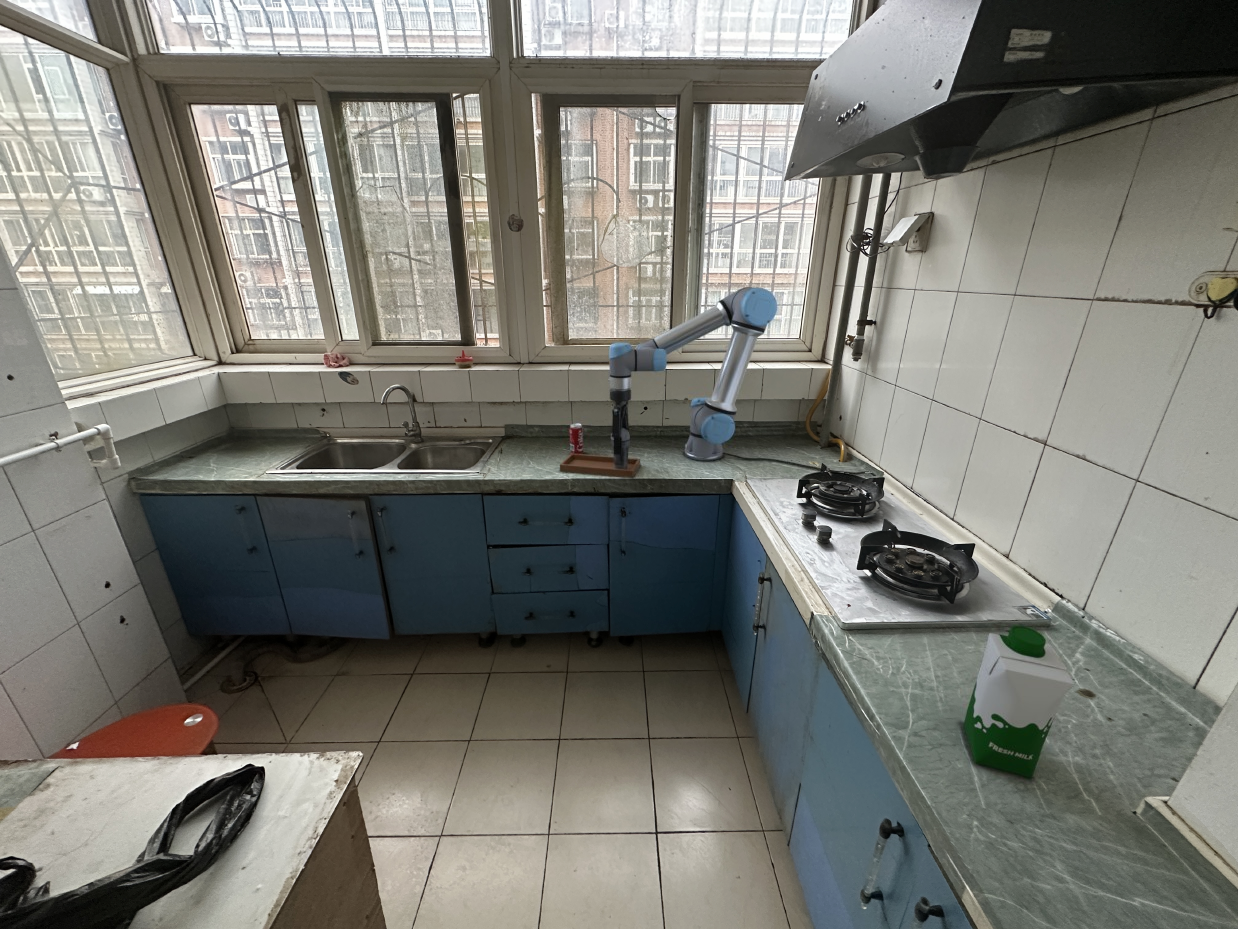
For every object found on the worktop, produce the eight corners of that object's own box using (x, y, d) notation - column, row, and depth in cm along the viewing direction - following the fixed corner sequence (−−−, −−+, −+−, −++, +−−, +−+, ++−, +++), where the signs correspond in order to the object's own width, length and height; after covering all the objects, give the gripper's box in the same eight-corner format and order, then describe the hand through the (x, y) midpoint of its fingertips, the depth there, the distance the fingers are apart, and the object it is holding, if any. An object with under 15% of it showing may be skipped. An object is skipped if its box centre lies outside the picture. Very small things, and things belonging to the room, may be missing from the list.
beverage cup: (631, 465, 187) (631, 413, 180) (630, 472, 180) (629, 419, 173) (612, 464, 188) (611, 413, 181) (610, 471, 181) (608, 418, 174)
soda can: (581, 450, 205) (580, 422, 201) (584, 454, 200) (583, 426, 196) (569, 452, 203) (568, 423, 199) (572, 456, 199) (571, 427, 194)
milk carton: (1020, 735, 78) (1059, 631, 71) (1042, 787, 70) (1089, 676, 63) (955, 719, 81) (986, 617, 74) (969, 767, 73) (1006, 659, 66)
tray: (640, 465, 189) (640, 458, 188) (632, 477, 177) (632, 471, 176) (571, 459, 195) (571, 453, 194) (560, 471, 184) (559, 464, 183)
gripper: (617, 382, 183) (617, 441, 192) (601, 394, 165) (603, 459, 174) (637, 383, 182) (636, 442, 190) (623, 395, 163) (623, 460, 172)
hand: (620, 450), depth 182 cm, fingers closed on beverage cup, 7 cm apart
